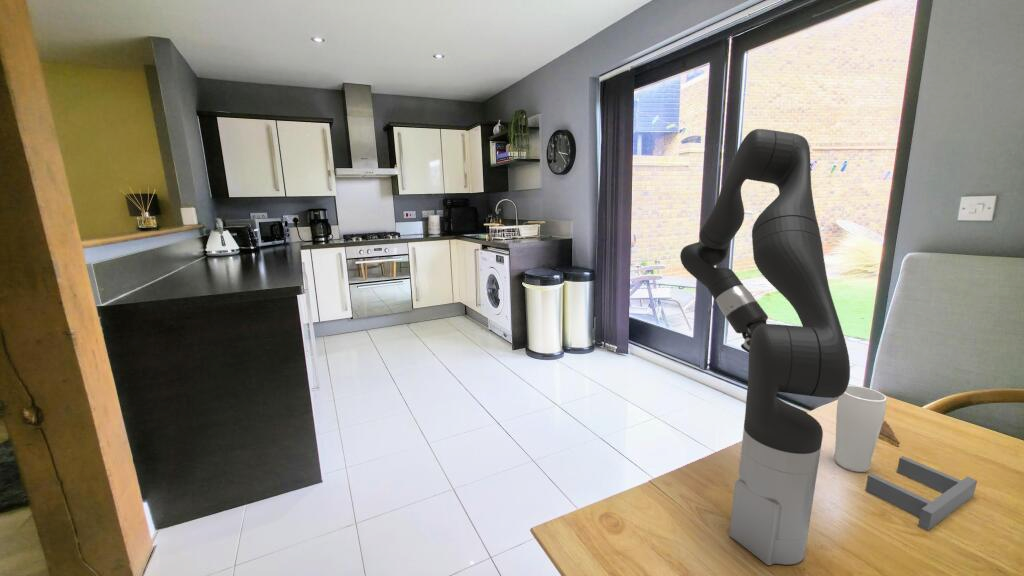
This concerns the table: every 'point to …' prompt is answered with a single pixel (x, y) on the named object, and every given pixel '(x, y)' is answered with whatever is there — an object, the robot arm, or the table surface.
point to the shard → (888, 434)
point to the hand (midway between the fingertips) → (788, 376)
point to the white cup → (858, 427)
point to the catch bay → (925, 509)
